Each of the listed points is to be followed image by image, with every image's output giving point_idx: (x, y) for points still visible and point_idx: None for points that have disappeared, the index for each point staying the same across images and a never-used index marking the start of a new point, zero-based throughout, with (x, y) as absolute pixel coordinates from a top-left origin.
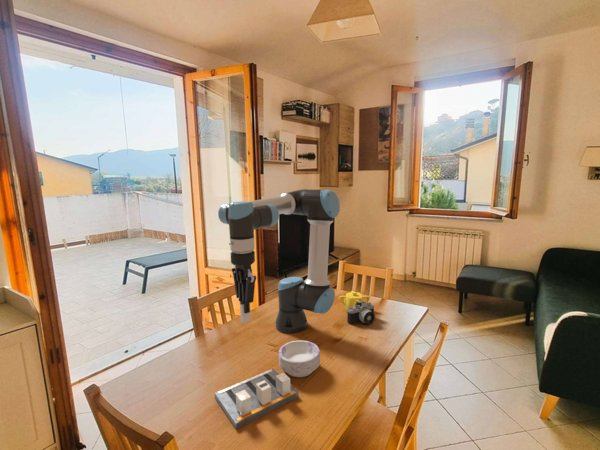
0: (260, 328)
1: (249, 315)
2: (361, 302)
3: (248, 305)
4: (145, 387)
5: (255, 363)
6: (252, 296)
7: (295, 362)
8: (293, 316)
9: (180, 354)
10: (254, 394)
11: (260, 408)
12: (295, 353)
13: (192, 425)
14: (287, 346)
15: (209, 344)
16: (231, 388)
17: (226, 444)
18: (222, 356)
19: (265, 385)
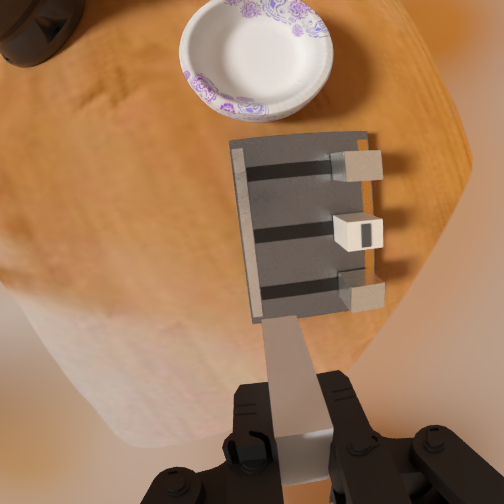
0: (8, 111)
1: (304, 342)
2: None
3: (365, 426)
4: (147, 412)
5: (153, 173)
6: (488, 480)
7: (318, 90)
8: (45, 4)
9: (49, 337)
10: (314, 237)
11: None
12: (216, 51)
13: None
14: (195, 64)
15: (25, 266)
16: (259, 284)
17: (385, 322)
18: (82, 251)
19: (370, 230)
